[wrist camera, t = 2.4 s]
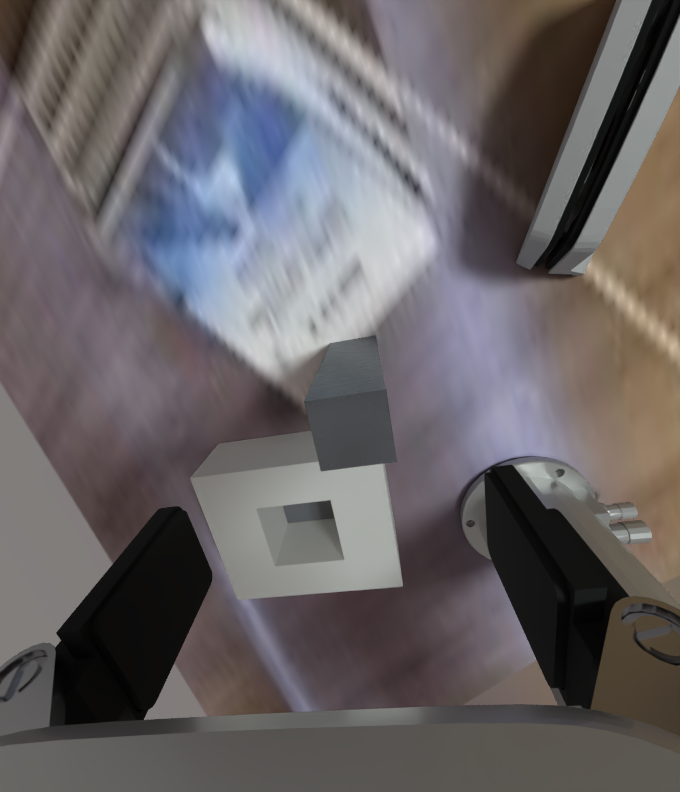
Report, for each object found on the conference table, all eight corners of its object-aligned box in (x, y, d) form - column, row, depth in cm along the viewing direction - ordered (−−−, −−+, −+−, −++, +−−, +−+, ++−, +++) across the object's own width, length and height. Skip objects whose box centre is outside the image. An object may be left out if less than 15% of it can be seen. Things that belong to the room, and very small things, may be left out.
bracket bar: (375, 335, 29) (386, 389, 16) (382, 379, 30) (396, 461, 17) (330, 343, 30) (304, 401, 17) (338, 386, 31) (320, 471, 18)
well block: (377, 420, 32) (381, 453, 26) (396, 537, 37) (402, 586, 31) (218, 443, 34) (189, 478, 28) (255, 551, 39) (237, 599, 33)
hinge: (576, 281, 27) (619, 272, 18) (513, 268, 28) (524, 253, 19) (703, 0, 21) (862, -224, 12) (614, 1, 22) (699, -198, 13)
